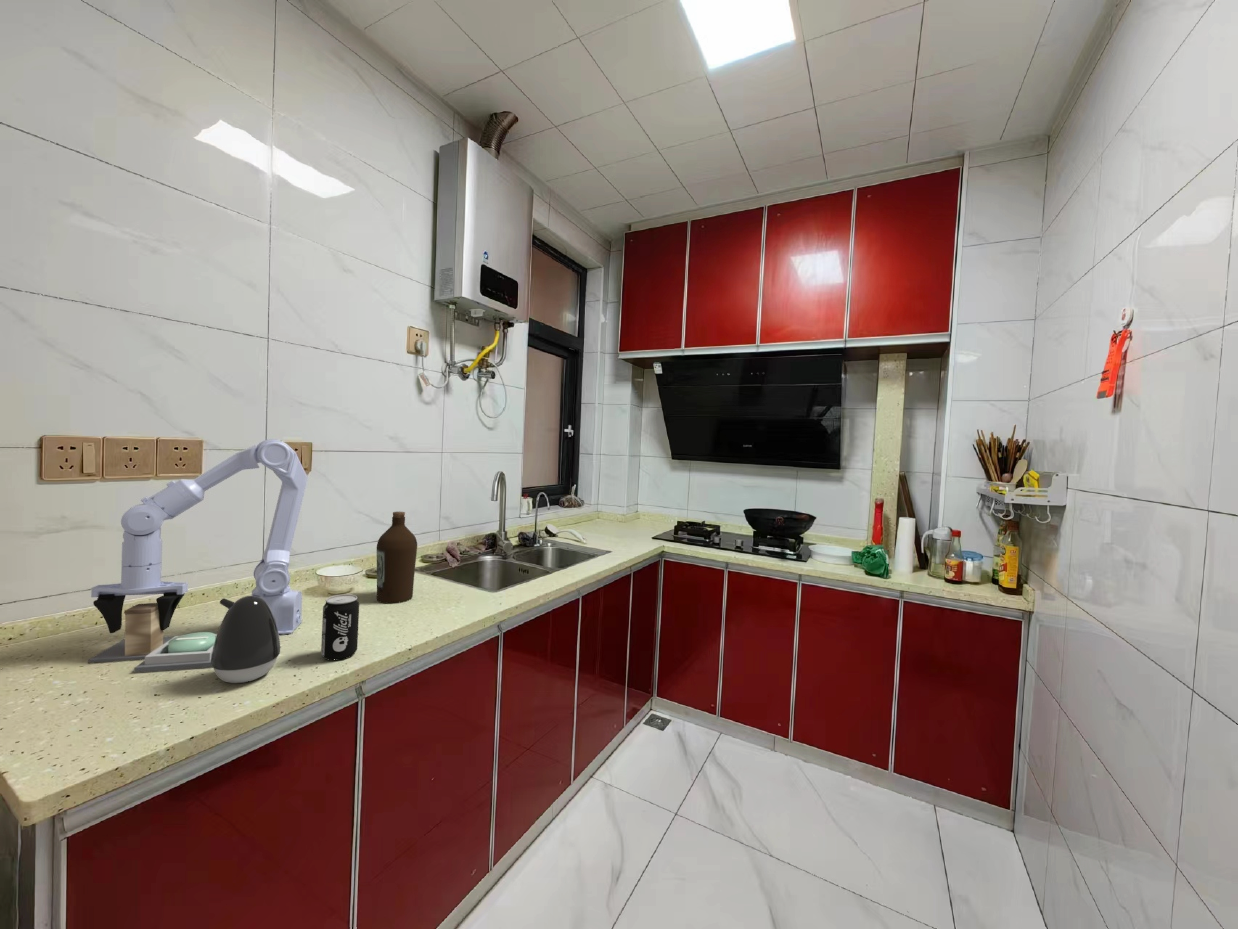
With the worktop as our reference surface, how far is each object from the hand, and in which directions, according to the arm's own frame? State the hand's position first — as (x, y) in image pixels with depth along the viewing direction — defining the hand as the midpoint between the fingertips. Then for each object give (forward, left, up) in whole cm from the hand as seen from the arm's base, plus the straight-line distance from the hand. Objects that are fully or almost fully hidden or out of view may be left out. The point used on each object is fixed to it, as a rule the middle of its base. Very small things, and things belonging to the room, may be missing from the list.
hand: (140, 629), depth 96 cm
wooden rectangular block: (-2, +2, -4) cm, 5 cm away
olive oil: (-44, -28, -4) cm, 52 cm away
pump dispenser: (-24, +16, -4) cm, 29 cm away
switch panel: (-11, +5, -4) cm, 13 cm away
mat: (0, 0, -4) cm, 4 cm away
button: (-11, +5, -3) cm, 12 cm away
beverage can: (-38, +9, -4) cm, 39 cm away
